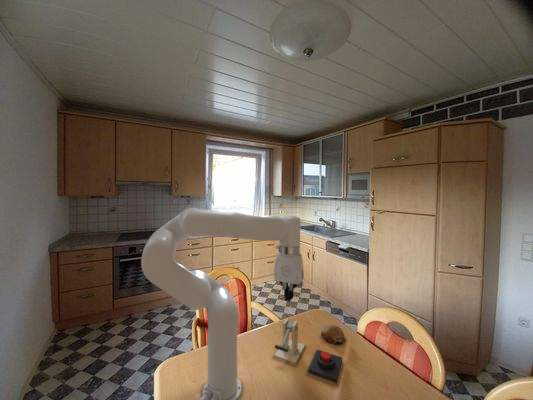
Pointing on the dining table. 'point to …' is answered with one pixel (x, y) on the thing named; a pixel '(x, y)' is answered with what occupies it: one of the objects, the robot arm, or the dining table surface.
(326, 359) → the button
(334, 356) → the control block
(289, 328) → the toaster lever
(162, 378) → the dining table surface
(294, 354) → the toaster bracket
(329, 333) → the bread roll
